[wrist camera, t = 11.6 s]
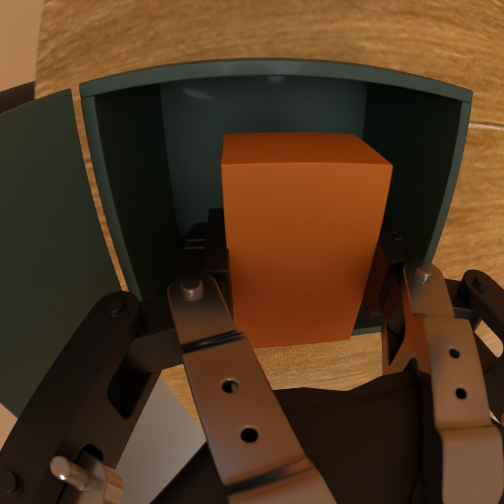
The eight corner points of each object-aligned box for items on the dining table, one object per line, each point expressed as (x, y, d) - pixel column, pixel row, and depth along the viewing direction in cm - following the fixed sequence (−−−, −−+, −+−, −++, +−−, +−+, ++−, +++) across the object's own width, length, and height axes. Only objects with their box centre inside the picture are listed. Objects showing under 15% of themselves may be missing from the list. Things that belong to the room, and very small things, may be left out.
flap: (150, 358, 14) (144, 356, 14) (71, 87, 7) (62, 90, 7) (86, 467, 9) (79, 463, 9) (-132, 199, 2) (-132, 199, 2)
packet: (234, 294, 14) (235, 349, 11) (224, 133, 10) (220, 165, 7) (332, 288, 14) (349, 340, 11) (355, 134, 10) (393, 165, 7)
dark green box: (174, 238, 22) (150, 347, 14) (151, 66, 15) (77, 83, 7) (352, 231, 22) (403, 328, 15) (372, 65, 15) (473, 91, 8)
